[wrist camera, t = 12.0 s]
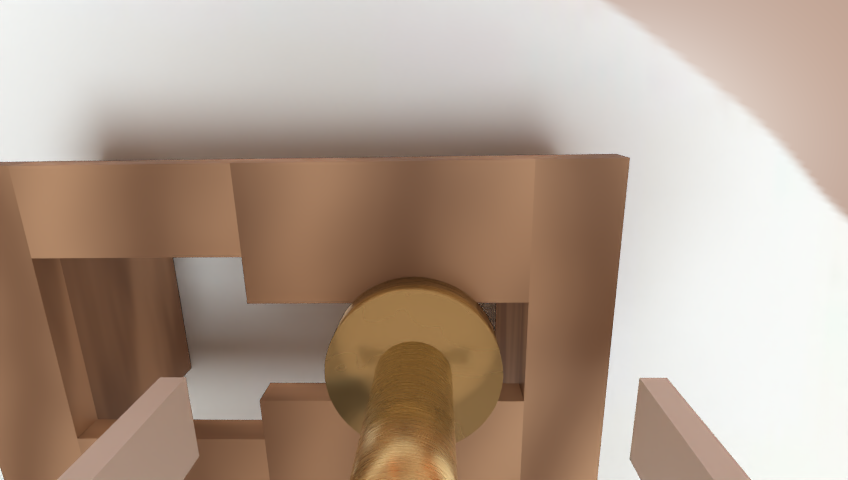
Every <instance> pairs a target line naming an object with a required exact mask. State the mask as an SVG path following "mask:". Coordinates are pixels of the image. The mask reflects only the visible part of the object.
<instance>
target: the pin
mask: <svg viewBox="0 0 848 480" xmlns="http://www.w3.org/2000/svg"><path fill="white" fill-rule="evenodd" d="M325 382H326V387H327V390H328V394H329V397H330V399H331V401H332V403H333V405H334V407H335V409H336V410H337V412H338V413H339V415H340V416H341V417H342V418H343V419H344V421H345V422H346V423H347V424H348V425H349V426H350V427H351V428H353V429H354V430H355V431H356V432H358V433H359V434H360V437H359V441H358V445H357V450H356V454H355V458H354V463H353V467H352V471H351V475H350V480H458V478H457V459H456V443H457V442H459V441H461V440H462V439H464V438H466V437H468V436H469V435H470V434H472V433H473V432H475V431H476V430H477V429H478V428H479V427H480V426H481V425H482V424H483V423H484V422H485V421H486V420H487V418H488V417H489V416H490V415H491V413H492V411H493V410H494V408H495V406H496V404H497V402H498V399H499V397H500V393H501V389H502V383H503V364H502V359H501V354H500V350H499V346H498V342H497V338H496V334H495V331H494V328H493V326H492V323H491V322H490V320H489V318H488V316H487V314H486V313H485V312H484V310H483V309H482V307H481V306H480V305H479V304H478V303H477V302H476V301H475V300H474V299H473V298H472V297H470V296H469V295H468V294H467V293H465V292H464V291H462V290H460V289H459V288H457V287H455V286H453V285H451V284H448V283H446V282H443V281H440V280H436V279H431V278H426V277H402V278H397V279H392V280H389V281H386V282H383V283H380V284H378V285H376V286H374V287H372V288H370V289H368V290H367V291H365V292H364V293H362V294H361V295H360V296H359V297H358V298H357V299H355V300H354V301H353V303H352V304H351V305H350V306H349V307H348V308H347V310H346V311H345V313H344V314H343V316H342V318H341V320H340V322H339V324H338V327H337V329H336V331H335V333H334V336H333V338H332V340H331V342H330V345H329V347H328V351H327V354H326V359H325Z"/></svg>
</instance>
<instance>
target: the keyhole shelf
mask: <svg viewBox="0 0 848 480" xmlns="http://www.w3.org/2000/svg"><path fill="white" fill-rule="evenodd" d="M629 160H630V158H628V157H625V156H621V155H618V154H581V155H504V156H427V157H350V158H273V159H196V160H119V161H42V162H0V468H1V471H2V474H3V477H4V480H57V479H58V478H59V477H60V476H61V475H62V474H63V473H64V472H65V471H66V470H67V469H68V468H69V467H70V466H71V465H72V464H73V463H74V462H75V461H76V460H77V459H78V458H79V457H80V456H81V455H82V454H83V453H84V452H85V451H86V450H87V449H88V448H89V447H90V446H91V445H92V444H93V443H94V442H95V441H96V440H97V439H98V438H99V437H100V436H101V435H102V434H104V433H105V432H106V431H107V430H108V429H109V428H110V427H111V426H112V425H113V424H114V423H115V422H116V421H117V420H118V419H119V418H120V417H121V416H122V415H123V414H124V413H125V412H126V411H127V410H128V409H129V408H130V407H131V406H132V405H133V404H134V403H135V402H136V401H137V400H138V399H139V398H140V397H141V396H142V395H143V394H144V393H145V392H146V391H147V390H148V389H149V388H150V387H151V386H152V385H153V384H154V383H155V382H156V381H157V380H158V379H159V378H160V377H183V376H184V375H185V374H186V373H187V372H188V371H189V370H190V369H191V363H190V357H189V351H188V345H187V340H186V334H185V328H184V322H183V316H182V310H181V304H180V298H179V292H178V286H177V280H176V274H175V268H174V262H173V257H242V265H243V273H244V280H245V288H246V296H247V304H253V303H353V301H354V300H355V299H357V298H358V297H359V296H360V295H361V294H362V293H364V292H365V291H367V290H368V289H370V288H372V287H374V286H376V285H378V284H380V283H383V282H386V281H389V280H392V279H397V278H402V277H426V278H431V279H436V280H440V281H443V282H446V283H448V284H451V285H453V286H455V287H457V288H459V289H460V290H462V291H464V292H465V293H467V294H468V295H469V296H470V297H472V298H473V299H474V300H475V301H476V302H477V303H496V326H495V334H496V338H497V342H498V346H499V350H500V354H501V359H502V364H503V383H502V389H501V393H500V397H499V399H498V402H497V404H496V406H495V408H494V410H493V411H492V413H491V415H490V416H489V417H488V418H487V420H486V421H485V422H484V423H483V424H482V425H481V426H480V427H479V428H478V429H477V430H476V431H475V432H473V433H472V434H470V435H469V436H468V437H466V438H464V439H462V440H461V441H459V442H457V443H456V459H457V478H458V480H597V476H598V466H599V456H600V446H601V436H602V426H603V417H604V407H605V397H606V387H607V377H608V367H609V357H610V347H611V337H612V328H613V318H614V308H615V298H616V288H617V278H618V268H619V258H620V249H621V239H622V229H623V219H624V209H625V199H626V189H627V179H628V170H629ZM260 407H261V414H262V420H193V422H194V428H195V434H196V440H197V446H198V451H199V457H198V459H197V460H196V462H195V463H194V465H193V466H192V468H191V469H190V471H189V472H188V474H187V475H186V477H185V478H184V480H350V475H351V471H352V467H353V463H354V458H355V454H356V450H357V445H358V441H359V437H360V434H359V433H358V432H356V431H355V430H354V429H353V428H351V427H350V426H349V425H348V424H347V423H346V422H345V421H344V419H343V418H342V417H341V416H340V415H339V413H338V412H337V410H336V409H335V407H334V405H333V403H332V401H331V399H330V397H329V394H328V390H327V387H326V383H270V384H269V386H268V388H267V389H266V391H265V393H264V394H263V396H262V398H261V399H260Z"/></svg>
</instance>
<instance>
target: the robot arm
mask: <svg viewBox="0 0 848 480" xmlns="http://www.w3.org/2000/svg"><path fill="white" fill-rule="evenodd" d="M198 457H199V451H198V446H197V440H196V434H195V428H194V422H193V417H192V411H191V405H190V399H189V394H188V388H187V382H186V377H160V378H159V379H158V380H157V381H156V382H155V383H154V384H153V385H152V386H151V387H150V388H149V389H148V390H147V391H146V392H145V393H144V394H143V395H142V396H141V397H140V398H139V399H138V400H137V401H136V402H135V403H134V404H133V405H132V406H131V407H130V408H129V409H128V410H127V411H126V412H125V413H124V414H123V415H122V416H121V417H120V418H119V419H118V420H117V421H116V422H115V423H114V424H113V425H112V426H111V427H110V428H109V429H108V430H107V431H106V432H105V433H104V434H102V435H101V436H100V437H99V438H98V439H97V440H96V441H95V442H94V443H93V444H92V445H91V446H90V447H89V448H88V449H87V450H86V451H85V452H84V453H83V454H82V455H81V456H80V457H79V458H78V459H77V460H76V461H75V462H74V463H73V464H72V465H71V466H70V467H69V468H68V469H67V470H66V471H65V472H64V473H63V474H62V475H61V476H60V477H59V478H58V479H57V480H184V478H185V477H186V475H187V474H188V472H189V471H190V469H191V468H192V466H193V465H194V463H195V462H196V460H197V459H198ZM630 460H631V462H632V464H633V466H634V468H635V470H636V472H637V473H638V475H639V477H640V479H641V480H751V479H750V478H749V477H748V475H747V474H746V473H745V472H744V471H743V469H742V468H741V467H740V466H739V465H738V463H737V462H736V461H735V460H734V459H733V457H732V456H731V455H730V454H729V452H728V451H727V450H726V449H725V448H724V446H723V445H722V444H721V443H720V442H719V440H718V439H717V438H716V437H715V436H714V434H713V433H712V432H711V431H710V429H709V428H708V427H707V426H706V425H705V423H704V422H703V421H702V420H701V419H700V417H699V416H698V415H697V414H696V413H695V411H694V410H693V409H692V408H691V407H690V405H689V404H688V403H687V402H686V400H685V399H684V398H683V397H682V396H681V394H680V393H679V392H678V391H677V390H676V388H675V387H674V386H673V385H672V384H671V382H670V381H669V380H668V379H667V378H640V379H639V387H638V395H637V403H636V412H635V420H634V428H633V436H632V444H631V453H630Z"/></svg>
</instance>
